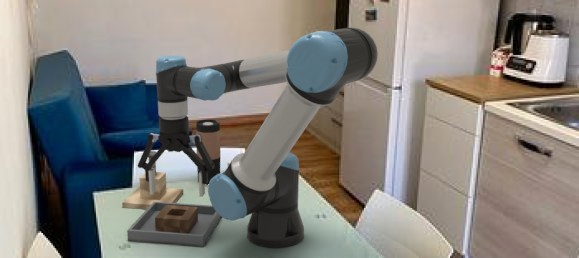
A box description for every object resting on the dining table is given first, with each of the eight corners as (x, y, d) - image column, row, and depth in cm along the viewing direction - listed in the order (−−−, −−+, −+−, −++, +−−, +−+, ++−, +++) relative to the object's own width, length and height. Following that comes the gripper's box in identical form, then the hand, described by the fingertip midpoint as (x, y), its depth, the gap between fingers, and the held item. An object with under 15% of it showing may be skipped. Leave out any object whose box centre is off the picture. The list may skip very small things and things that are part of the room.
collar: (197, 220, 176) (197, 207, 175) (188, 234, 167) (188, 220, 166) (166, 218, 177) (166, 204, 176) (155, 231, 169) (154, 217, 167)
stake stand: (183, 193, 197) (181, 147, 193) (168, 210, 184) (167, 161, 180) (139, 190, 199) (137, 144, 195) (122, 207, 185) (119, 158, 182)
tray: (222, 216, 181) (221, 206, 180) (203, 247, 162) (202, 236, 161) (154, 211, 183) (153, 201, 182) (127, 241, 164) (127, 230, 163)
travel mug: (194, 184, 205) (192, 124, 200) (201, 176, 212) (200, 118, 207) (217, 186, 204) (216, 126, 198) (223, 178, 211) (222, 120, 206)
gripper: (224, 114, 166) (226, 191, 171) (132, 111, 169) (137, 187, 175) (217, 121, 159) (219, 201, 164) (121, 118, 162) (127, 196, 167)
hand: (177, 193), depth 169 cm, fingers open, 13 cm apart
